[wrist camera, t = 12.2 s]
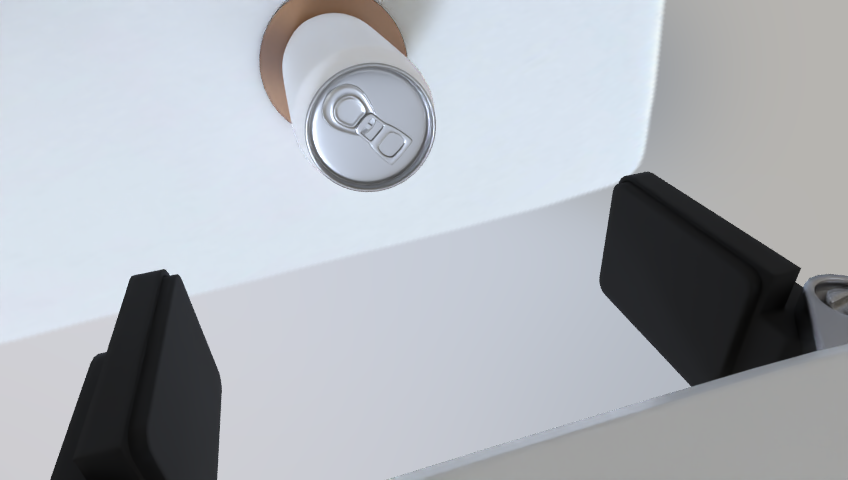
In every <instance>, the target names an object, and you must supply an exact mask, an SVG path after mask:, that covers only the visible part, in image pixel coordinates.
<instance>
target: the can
mask: <svg viewBox="0 0 848 480" xmlns="http://www.w3.org/2000/svg"><path fill="white" fill-rule="evenodd" d="M282 71H283V79H284V86H285V91H286V97H287V102H288V107H289V113H290V118H291V122H292V127H293V131H294V134H295V138H296V140H297V143H298V145H299V147H300V149H301V151H302V153H303V154H304V156H305V157H306V159H307V160H308V161H309V162H310V163H311V165H312V166H313V167H314V168H316V169H317V170H318V171H319V172H321V173H322V174H323V175H325V176H326V177H327V178H328V179H330V180H331V181H333V182H334V183H336V184H338V185H340V186H342V187H344V188H347V189H350V190H354V191H361V192H375V191H381V190H385V189H389V188H392V187H394V186H396V185H399V184H400V183H402V182H404V181H405V180H407V179H408V178H410V177H411V176H412V175H413V174H414V173H415V172H416V171H417V170H418V169H419V168H420V167H421V166H422V164H423V163H424V162H425V160H426V158H427V157H428V155H429V153H430V151H431V148H432V145H433V142H434V138H435V131H436V119H435V112H434V103H433V98H432V94H431V91H430V89H429V86H428V84H427V82H426V80H425V79H424V77H423V75H422V74H421V72H420V71H419V70H418V69H417V67H416V66H415V65H414V64H413V63H412V62H411V61H410V60H409V59H408V58H407V57H406V56H404V55H403V54H402V53H401V52H400V51H399V50H398V49H396V48H395V47H394V46H393V45H392V44H391V43H389V42H388V41H387V40H386V39H385V38H384V37H382V36H381V35H380V34H379V33H378V32H376V31H375V30H374V29H373V28H372V27H370V26H369V25H368V24H366V23H365V22H363V21H362V20H360V19H358V18H356V17H353V16H350V15H347V14H342V13H326V14H321V15H318V16H315V17H313V18H310V19H308V20H307V21H305V22H303V23H302V24H301V25H300V26H299V27H298V28H297V29H296V30H295V32H294V33H293V34H292V36H291V38H290V39H289V41H288V44H287V46H286V49H285V52H284V55H283V62H282Z"/></svg>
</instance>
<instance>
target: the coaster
mask: <svg viewBox="0 0 848 480" xmlns="http://www.w3.org/2000/svg"><path fill="white" fill-rule="evenodd" d="M326 13H342V14H347V15H350V16H353V17H356V18H358V19H360V20H362V21H363V22H365V23H366V24H368V25H369V26H370V27H372V28H373V29H374V30H375V31H376V32H378V33H379V34H380V35H381V36H382V37H384V38H385V39H386V40H387V41H388V42H389V43H391V44H392V45H393V46H394V47H395V48H396V49H398V50H399V51H400V52H401V53H402V54H403V55H404V56H406V57H407V54H406V48H405V44H404V41H403V38H402V36H401V33H400V31H399V29H398V27H397V25H396V24H395V22H394V21H393V19H392V18H391V17H390V15H389V14H388V13H387V12H386V11H385V10H384V9H383V8H382V7H381V6H380V5H379V4H378V3H376V2H375V1H374V0H289V1H287V2H286V3H285V4H284V5H283V6H282V7H281V8H280V9H279V10H278V11H277V12H276V13H275V15H274V16H273V17H272V19H271V20H270V22H269V24H268V26H267V28H266V30H265V33H264V35H263V39H262V43H261V47H260V72H261V78H262V82H263V85H264V88H265V90H266V93H267V95H268V97H269V99H270V101H271V102H272V104H273V105H274V107H275V108H276V109H277V111H278V112H279V113H280V114H281V115H282V116H283V117H284V118H285V119H286V120H287V121H288V122H290V123H291V124H292V122H291V118H290V113H289V107H288V102H287V97H286V91H285V86H284V79H283V71H282V62H283V55H284V52H285V49H286V46H287V44H288V41H289V39H290V38H291V36H292V34H293V33H294V32H295V30H296V29H297V28H298V27H299V26H300V25H301V24H302V23H303V22H305V21H307V20H308V19H310V18H313V17H315V16H318V15H321V14H326Z"/></svg>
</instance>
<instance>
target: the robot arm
mask: <svg viewBox="0 0 848 480" xmlns="http://www.w3.org/2000/svg"><path fill="white" fill-rule="evenodd" d="M800 269H801V268H800V267H798V266H796V265H795V264H793V263H792V262H790V261H789V260H787V259H785V258H784V257H782V256H781V255H779V254H778V253H776V252H775V251H773V250H772V249H770V248H768V247H767V246H765V245H764V244H762V243H761V242H759V241H758V240H756V239H754V238H753V237H751V236H750V235H748V234H746V233H745V232H743V231H742V230H740V229H739V228H737V227H736V226H734V225H733V224H731V223H729V222H728V221H726V220H725V219H723V218H721V217H720V216H718V215H717V214H715V213H714V212H712V211H711V210H709V209H707V208H706V207H704V206H703V205H701V204H700V203H698V202H697V201H695V200H693V199H692V198H690V197H689V196H687V195H686V194H684V193H683V192H681V191H679V190H678V189H676V188H675V187H673V186H672V185H670V184H668V183H667V182H665V181H664V180H662V179H661V178H659V177H658V176H656V175H654V174H653V173H650V172H643V173H638V174H633V175H628V176H624V177H623V178H621V180H620V181H619V184H617V185H616V186H615V187H614V190H613V195H612V201H611V208H610V214H609V220H608V227H607V233H606V240H605V246H604V252H603V259H602V265H601V272H600V286H601V289H602V291H603V293H604V294H605V295H606V296H607V297H608V298H609V299H610V301H611V302H612V303H613V304H614V305H615V306H616V307H617V308H618V309H619V310H620V311H621V312H622V313H623V314H624V315H625V316H626V318H628V320H629V321H630V322H631V323H632V324H633V325H634V326H635V327H636V328H637V329H638V330H639V331H640V332H641V333H642V335H643V336H644V337H645V338H646V339H647V340H648V341H649V342H650V343H651V344H652V345H653V346H654V347H655V348H656V349H657V350H658V351H659V353H660V354H661V355H662V356H663V357H664V358H665V359H666V360H667V361H668V362H669V363H670V364H671V365H672V366H673V367H674V369H675V370H676V371H677V372H678V373H679V374H680V375H681V376H682V377H683V378H684V379H685V380H686V381H687V382H688V383H689V384H690V386H691V387H689V388H686V389H683V390H679V391H676V392H672V393H669V394H666V395H662V396H659V397H656V398H652V399H649V400H646V401H643V402H639V403H636V404H632V405H629V406H626V407H623V408H619V409H616V410H612V411H609V412H606V413H603V414H599V415H596V416H593V417H590V418H586V419H583V420H579V421H576V422H573V423H569V424H566V425H563V426H560V427H556V428H553V429H550V430H546V431H543V432H540V433H537V434H533V435H530V436H527V437H523V438H520V439H517V440H514V441H511V442H507V443H504V444H501V445H498V446H494V447H491V448H487V449H484V450H481V451H478V452H474V453H471V454H468V455H465V456H462V457H458V458H455V459H452V460H449V461H446V462H442V463H439V464H436V465H432V466H429V467H426V468H423V469H420V470H416V471H413V472H410V473H407V474H403V475H400V476H397V477H394V478H391V479H387V480H848V276H844V275H834V274H825V275H818V276H815V277H812V278H809V280H808V281H807V282H806V283H805V284H804V287H802V286H800V285H799V284H797V283H796V282H795V281H796V279H797V277H798V274H799V272H800ZM221 393H222V386H221V379H220V375H219V371H218V369H217V366H216V364H215V361H214V359H213V356H212V354H211V351H210V349H209V347H208V344H207V341H206V339H205V336H204V334H203V331H202V329H201V326H200V324H199V321H198V319H197V317H196V314H195V312H194V309H193V307H192V304H191V302H190V299H189V297H188V294H187V292H186V289H185V287H184V284H183V282H182V279H181V277H180V276H179V275H178V274H176V275H171V276H170V275H169V273H168V272H167V271H166V270H164V269H163V270H158V271H153V272H148V273H143V274H138V275H134V276H131V278H130V280H129V284H128V287H127V290H126V293H125V296H124V299H123V302H122V306H121V309H120V312H119V315H118V318H117V321H116V324H115V328H114V331H113V334H112V337H111V340H110V343H109V347H108V350H107V352H105V353H101V354H98V355H97V356H95V357H94V358H93V360H92V362H91V364H90V367H89V370H88V373H87V375H86V378H85V381H84V384H83V387H82V390H81V393H80V395H79V398H78V401H77V404H76V407H75V410H74V413H73V416H72V419H71V421H70V424H69V427H68V430H67V433H66V436H65V439H64V442H63V445H62V448H61V450H60V453H59V456H58V459H57V462H56V465H55V468H54V471H53V474H52V476H51V480H217V471H218V451H219V431H220V413H221V412H220V411H221Z"/></svg>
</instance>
